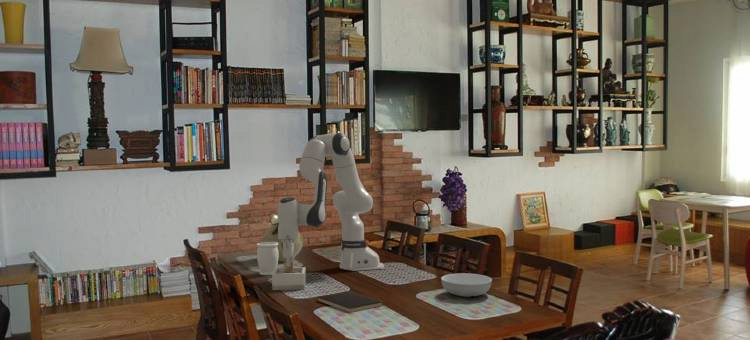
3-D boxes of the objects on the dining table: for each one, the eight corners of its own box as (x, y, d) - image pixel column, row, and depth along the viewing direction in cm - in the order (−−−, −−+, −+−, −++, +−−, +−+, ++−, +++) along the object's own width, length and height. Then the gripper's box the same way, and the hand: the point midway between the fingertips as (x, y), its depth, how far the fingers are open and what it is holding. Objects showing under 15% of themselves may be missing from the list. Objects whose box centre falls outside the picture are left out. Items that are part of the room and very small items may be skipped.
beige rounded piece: (282, 254, 372) (281, 210, 370) (313, 258, 358) (312, 213, 356) (253, 261, 354) (252, 215, 352) (285, 265, 340) (284, 218, 338)
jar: (274, 276, 313) (273, 245, 312) (254, 275, 315) (253, 244, 314) (281, 271, 324) (281, 241, 323) (262, 271, 326) (261, 241, 325)
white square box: (305, 282, 300) (305, 267, 299) (304, 289, 286) (304, 273, 285) (274, 283, 299) (274, 267, 298) (272, 290, 285) (271, 274, 285)
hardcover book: (349, 314, 247) (349, 308, 247) (317, 302, 266) (317, 296, 266) (383, 307, 257) (383, 301, 257) (349, 296, 275) (349, 290, 275)
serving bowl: (460, 303, 259) (460, 286, 259) (431, 292, 278) (431, 276, 277) (502, 296, 269) (502, 280, 268) (472, 286, 287) (471, 271, 287)
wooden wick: (293, 272, 293) (292, 250, 293) (293, 273, 291) (292, 251, 291) (284, 272, 293) (283, 250, 292) (283, 273, 291) (283, 251, 290)
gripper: (294, 237, 281) (294, 269, 282) (296, 231, 301) (296, 260, 302) (279, 238, 281) (279, 270, 281) (282, 231, 301) (283, 261, 302)
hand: (288, 265), depth 292 cm, fingers closed on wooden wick, 2 cm apart
